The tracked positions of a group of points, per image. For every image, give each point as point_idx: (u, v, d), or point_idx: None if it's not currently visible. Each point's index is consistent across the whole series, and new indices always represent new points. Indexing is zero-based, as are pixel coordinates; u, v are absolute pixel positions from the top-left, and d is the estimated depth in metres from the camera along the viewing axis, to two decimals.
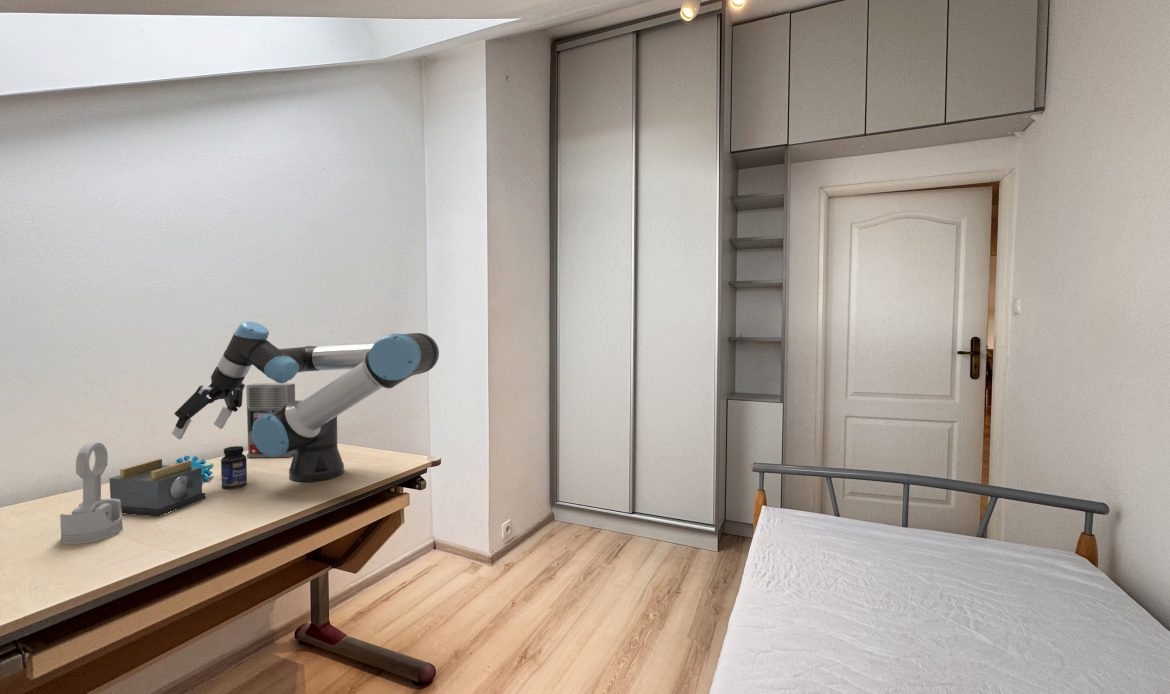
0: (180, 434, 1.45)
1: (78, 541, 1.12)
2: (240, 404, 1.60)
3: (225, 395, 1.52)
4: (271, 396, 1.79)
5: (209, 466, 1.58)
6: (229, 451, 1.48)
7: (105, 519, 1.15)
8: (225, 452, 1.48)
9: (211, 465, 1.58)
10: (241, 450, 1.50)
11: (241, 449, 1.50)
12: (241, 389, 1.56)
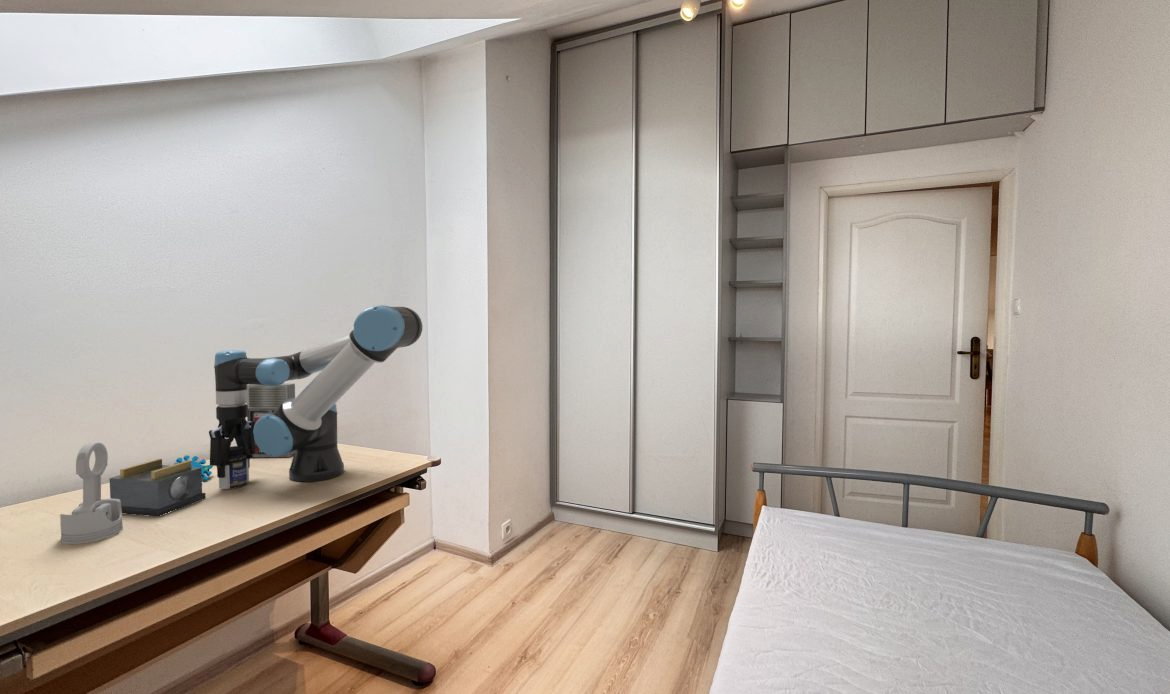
0: (226, 483, 1.47)
1: (78, 541, 1.12)
2: (253, 449, 1.56)
3: (238, 431, 1.50)
4: (271, 396, 1.79)
5: (209, 466, 1.58)
6: (229, 451, 1.48)
7: (105, 519, 1.15)
8: None
9: (211, 465, 1.58)
10: (241, 450, 1.50)
11: (241, 449, 1.50)
12: (252, 427, 1.55)
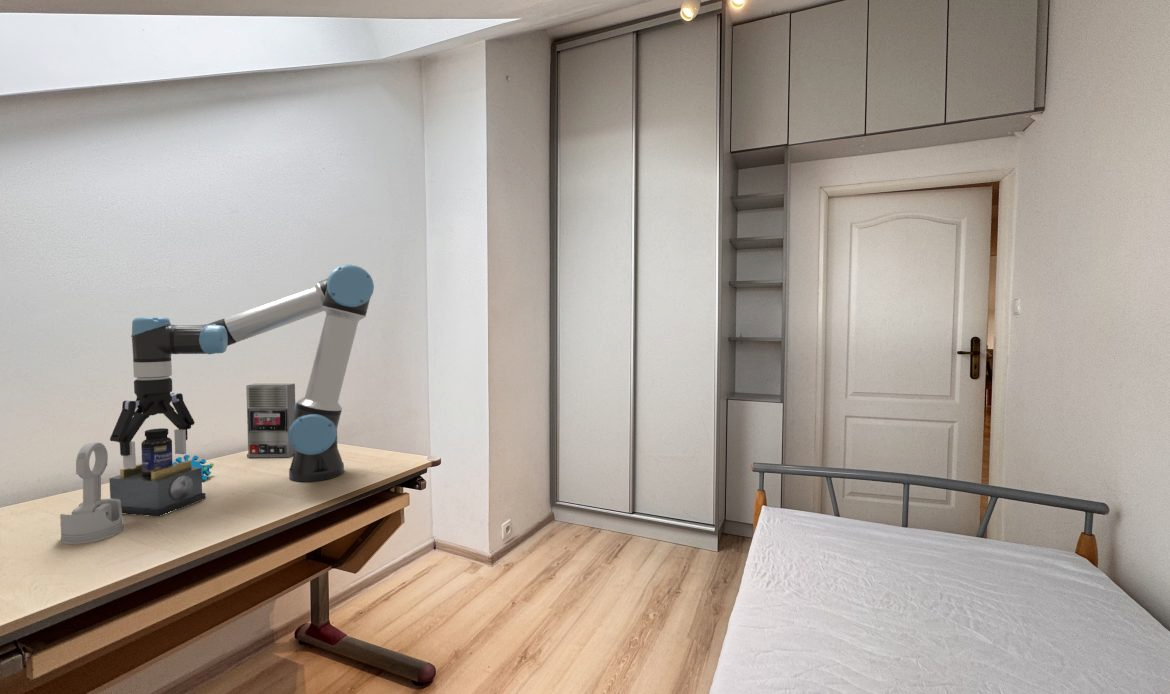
0: (131, 462, 1.27)
1: (78, 541, 1.12)
2: (191, 420, 1.43)
3: (163, 408, 1.35)
4: (271, 396, 1.79)
5: (208, 466, 1.58)
6: (150, 433, 1.32)
7: (105, 519, 1.15)
8: (146, 434, 1.32)
9: (211, 465, 1.59)
10: (164, 432, 1.34)
11: (165, 431, 1.34)
12: (180, 400, 1.39)
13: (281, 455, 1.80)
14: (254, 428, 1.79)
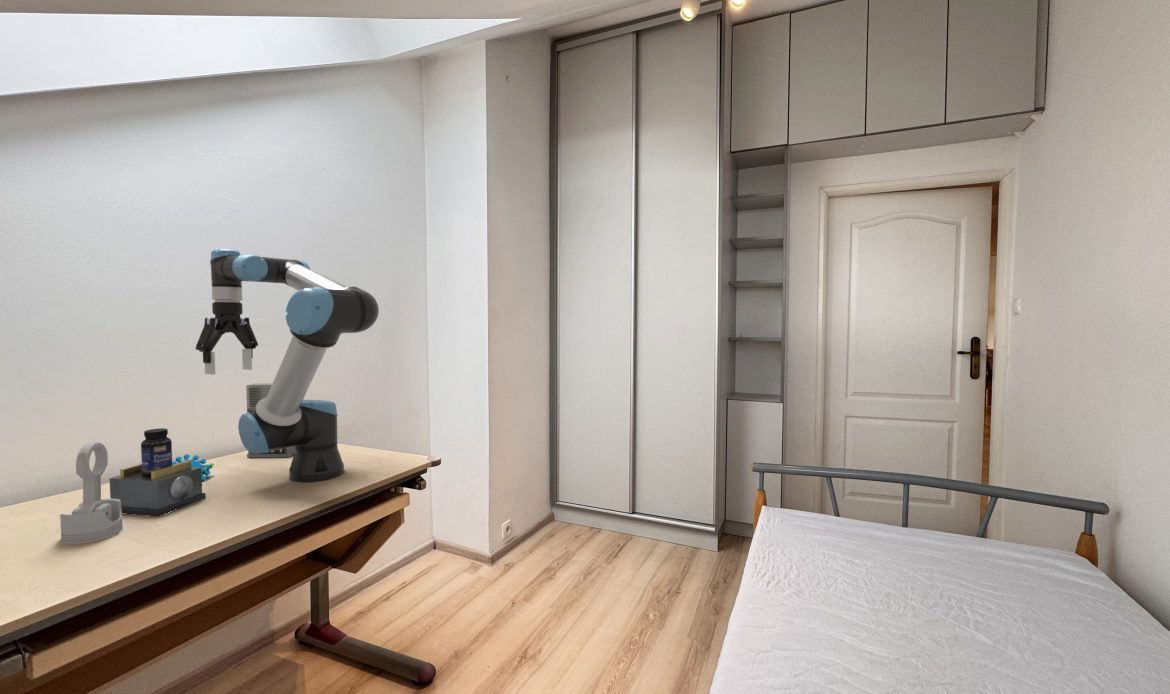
0: (212, 369, 1.52)
1: (78, 541, 1.12)
2: (255, 341, 1.67)
3: (235, 328, 1.59)
4: None
5: (208, 466, 1.58)
6: (150, 433, 1.32)
7: (105, 519, 1.15)
8: (146, 435, 1.32)
9: (211, 465, 1.59)
10: (164, 432, 1.34)
11: (164, 431, 1.34)
12: (247, 323, 1.64)
13: (281, 455, 1.80)
14: None
